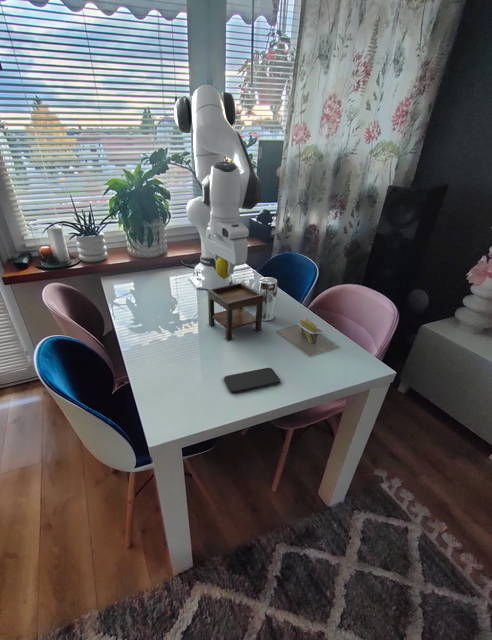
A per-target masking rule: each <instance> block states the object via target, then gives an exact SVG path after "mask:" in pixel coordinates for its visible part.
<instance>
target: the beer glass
mask: <svg viewBox="0 0 492 640" xmlns="http://www.w3.org/2000/svg"><path fill="white" fill-rule="evenodd" d="M258 284H259V288H258V292H259V293H261V294H263V309H262V321H265V322H269V321H272V320H273V319H274V307H275V303H276V300H277V295H278V279H276V278H274V277H269V276H268V277H267V276H265V277H261V278H260V279H259V280H258Z"/></svg>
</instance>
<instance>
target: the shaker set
mask: <svg viewBox="0 0 492 640" xmlns="http://www.w3.org/2000/svg"><path fill="white" fill-rule="evenodd" d="M238 283H243V284H245V279H241V280H240V281H239V282H238ZM245 285H246V284H245ZM250 288H252V289H254V290H255V291H257V292H258V288H259V280H255V281H254V282H253V284H252V285H251V287H250Z"/></svg>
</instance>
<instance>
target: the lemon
mask: <svg viewBox="0 0 492 640" xmlns="http://www.w3.org/2000/svg"><path fill="white" fill-rule="evenodd" d="M228 266H229V264H228V261H226V260H225V259H223V258H221V257H219V258H218V259H217V262H216V272H217V274H218V275H219V276H220V277H222V278H223V279H225V278H226V277H228V276H229V277H231V275H228V274H227V273H226V268H228Z"/></svg>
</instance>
